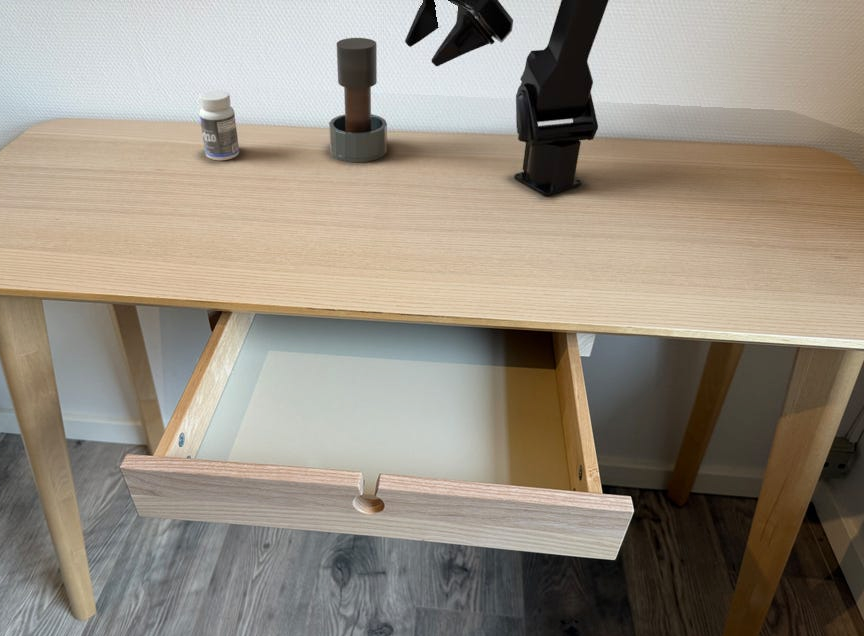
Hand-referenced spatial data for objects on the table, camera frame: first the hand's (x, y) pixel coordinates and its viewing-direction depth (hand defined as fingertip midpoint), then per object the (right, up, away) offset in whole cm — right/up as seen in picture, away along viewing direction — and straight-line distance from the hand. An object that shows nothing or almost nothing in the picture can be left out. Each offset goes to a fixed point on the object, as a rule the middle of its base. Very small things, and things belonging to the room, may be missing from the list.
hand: (420, 53), depth 96 cm
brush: (-8, -11, +5) cm, 15 cm away
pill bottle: (-28, -12, +5) cm, 31 cm away
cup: (-8, -11, +6) cm, 15 cm away
